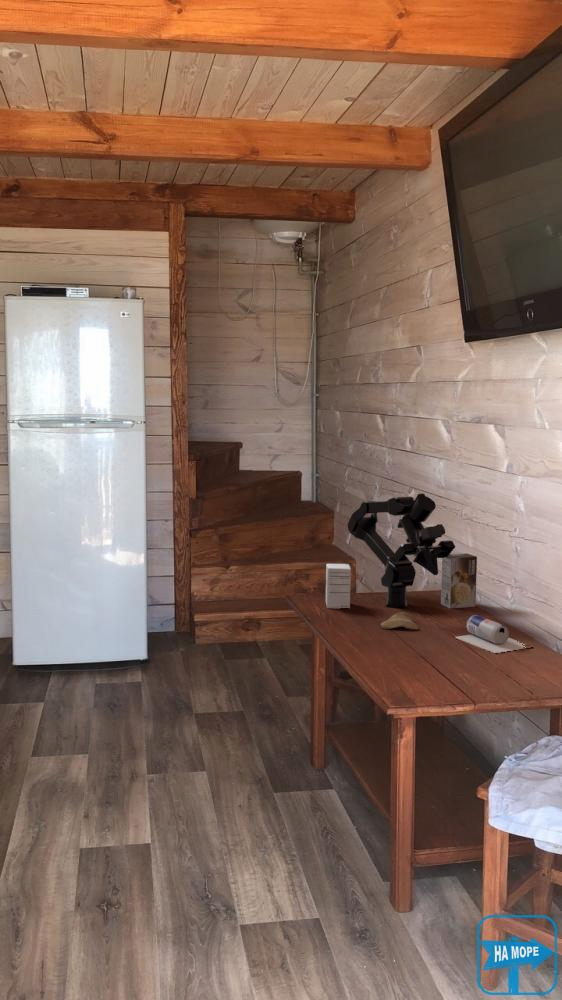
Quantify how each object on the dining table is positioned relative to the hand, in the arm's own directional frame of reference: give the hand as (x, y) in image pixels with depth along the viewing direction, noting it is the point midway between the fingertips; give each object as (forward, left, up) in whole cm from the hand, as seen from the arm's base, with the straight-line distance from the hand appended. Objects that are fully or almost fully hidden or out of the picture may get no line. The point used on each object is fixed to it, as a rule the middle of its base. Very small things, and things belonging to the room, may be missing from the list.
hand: (436, 574), depth 253 cm
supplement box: (-11, -30, -14) cm, 34 cm away
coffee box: (-20, +7, -14) cm, 25 cm away
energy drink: (+13, +10, -11) cm, 20 cm away
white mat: (+21, +15, -14) cm, 29 cm away
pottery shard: (+8, -10, -14) cm, 19 cm away
